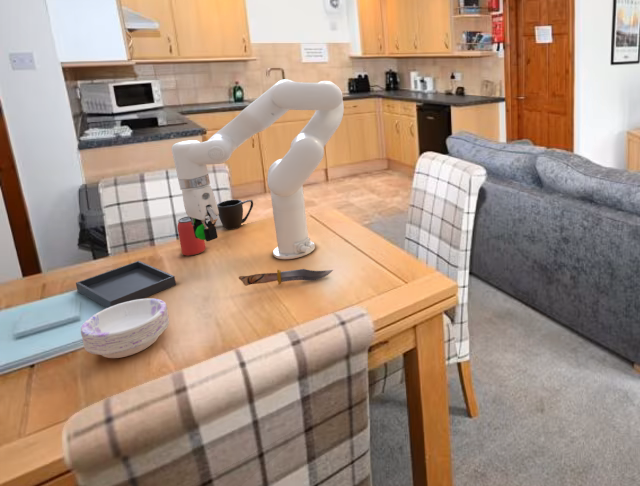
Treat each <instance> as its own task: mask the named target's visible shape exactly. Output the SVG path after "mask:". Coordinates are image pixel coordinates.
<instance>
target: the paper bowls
mask: <svg viewBox="0 0 640 486" xmlns="http://www.w3.org/2000/svg"><path fill="white" fill-rule="evenodd" d="M169 324H170V318H169V311H168V306H167V303H166V302H165V301H164V300H162V299H160V298H148V297H145V298H143V299H137V300H132V301H127V302H123V303H120V304H117V305H114V306H111V307H109V308H106V307H105V308H104V309H102V310H100V311H98V312H96V313H94V314H93V315H92V316H90V317H88V318H87V319H86V320H85V321H84V322H83V324H81V327H80V334H81V339H82V344H83V348H84V350H85V352H87V353H89V354H92V355H99V356H102V357H103V358H106V359H119V358H120V359H121V358H126V357H129V356H132V355H136V354H138V353H140V352H142V351H144V350H146V349H147V348H149V347H150V346H151V345H153V344H154V343H155V342H156V341H157V340H158V339H159V337H160V335H162V334H163V333H164V332H165V331H166V330H167V328H168V327H169Z"/></svg>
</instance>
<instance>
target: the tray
mask: <svg viewBox="0 0 640 486" xmlns="http://www.w3.org/2000/svg"><path fill="white" fill-rule="evenodd" d="M175 277H176V276H175V275H173V274H171V273H169V272H167V271H164V270H161V269H159V268H157V267H154V266H152V265H150V264H147V263H146V262H143V261H140V260H136V261H134V262H131V263H128V264H124V265H123V266H119V267H117V268H114V269H111V270H107V271H105V272H102V273H100V274H96V275H93V276H91V277H88V278H85V279H83V280H80V281H77V282H75V287H76V290H77V292H78V293H79V294H81V295H83V296H84V297H86V298H88V299H90V300H92V301H93V302H95V303H97V304H99V305H101V306H102V307H104V308H105V309H106V308H109V307H111V306H114V305H117V304H120V303H123V302H127V301H132V300H137V299H146V298H148V297H150V296H152V295H155V294H157V293H159V292H162V291H165V290H167V289H169V288H172V287H174V286H176V285H177V282H176V278H175Z"/></svg>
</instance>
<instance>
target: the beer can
mask: <svg viewBox="0 0 640 486" xmlns="http://www.w3.org/2000/svg"><path fill="white" fill-rule="evenodd" d="M177 222H178V223H177V227H176V228H177V233H178V239H179V244H180V249H181V254H182V255H183V256H185V257H186V256H187V257H191V256H196V255H199V254H201V253H203V252H204V251H206V240H200V239H199V238H195V234H194V229H193V225H192V223H191V219H190V217H189V216H188V215H186V216H183V217H181V218H179V219H178V220H177ZM194 226H195V225H194Z"/></svg>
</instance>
